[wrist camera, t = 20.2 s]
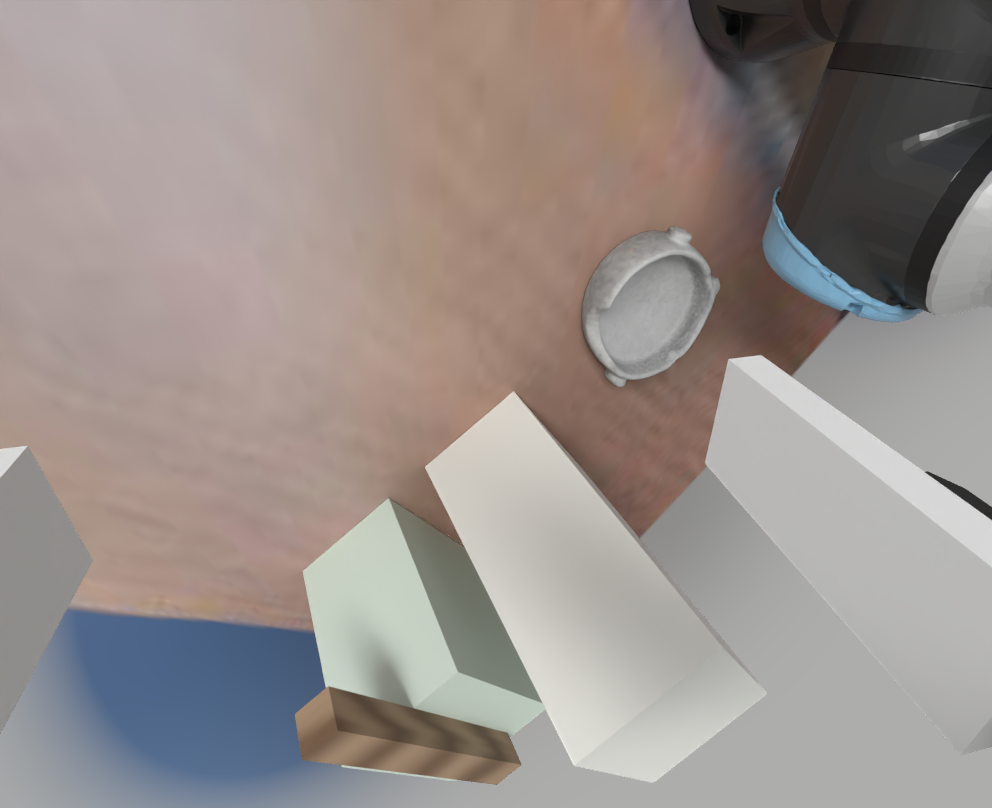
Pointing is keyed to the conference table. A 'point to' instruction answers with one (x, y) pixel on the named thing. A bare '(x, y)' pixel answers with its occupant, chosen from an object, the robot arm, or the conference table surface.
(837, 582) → the robot arm
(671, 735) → the off-white rectangular block
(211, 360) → the conference table surface
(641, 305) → the dish
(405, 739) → the walnut bar
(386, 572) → the low stand
